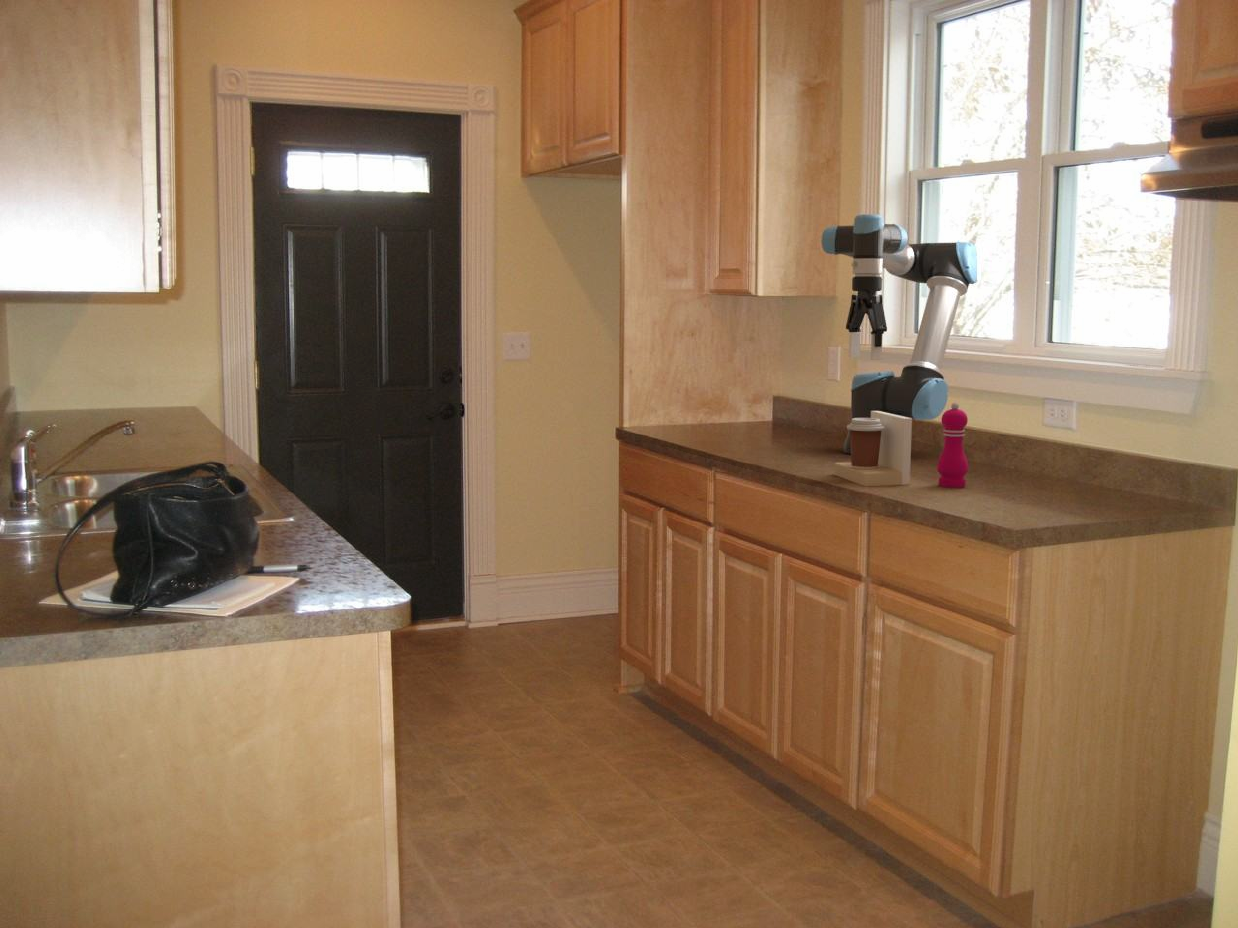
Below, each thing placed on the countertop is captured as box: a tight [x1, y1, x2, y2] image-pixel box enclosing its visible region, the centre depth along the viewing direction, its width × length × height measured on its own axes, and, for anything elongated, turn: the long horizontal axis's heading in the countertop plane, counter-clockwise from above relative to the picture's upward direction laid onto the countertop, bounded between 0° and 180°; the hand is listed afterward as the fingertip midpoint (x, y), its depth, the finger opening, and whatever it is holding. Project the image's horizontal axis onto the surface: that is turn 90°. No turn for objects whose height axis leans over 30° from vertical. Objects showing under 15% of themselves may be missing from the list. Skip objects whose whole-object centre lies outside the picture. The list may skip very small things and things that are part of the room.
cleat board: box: [833, 411, 913, 487], centre depth 303 cm, size 12×19×16 cm, turn 13°
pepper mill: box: [936, 402, 969, 489], centre depth 293 cm, size 7×7×20 cm
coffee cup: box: [846, 418, 884, 470], centre depth 303 cm, size 9×9×12 cm
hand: (864, 358), depth 319 cm, fingers open, 13 cm apart
